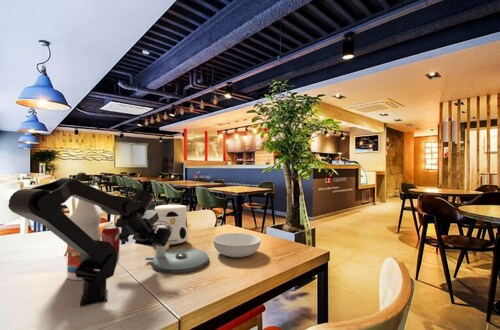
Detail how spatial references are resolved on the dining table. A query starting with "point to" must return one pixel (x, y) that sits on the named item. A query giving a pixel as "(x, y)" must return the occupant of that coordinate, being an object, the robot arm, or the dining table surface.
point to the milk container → (173, 222)
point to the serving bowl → (236, 244)
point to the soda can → (111, 236)
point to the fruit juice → (89, 224)
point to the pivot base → (179, 255)
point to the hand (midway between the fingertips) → (155, 246)
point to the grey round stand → (172, 263)
